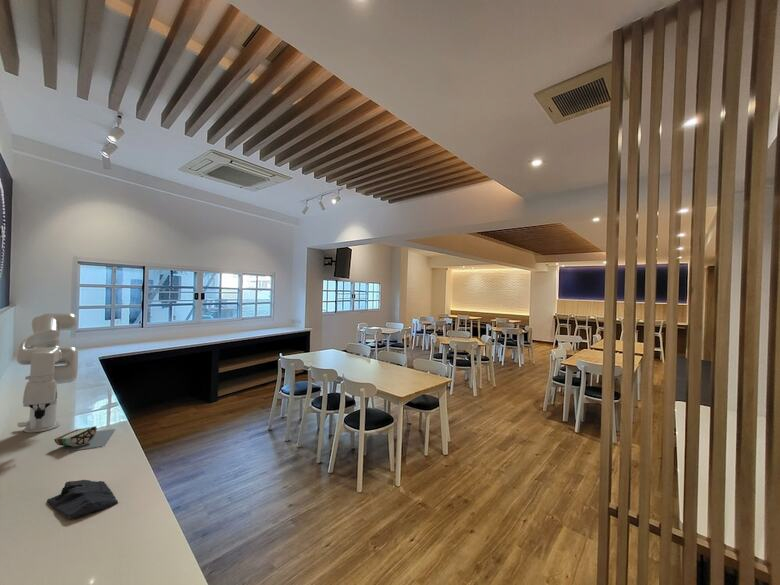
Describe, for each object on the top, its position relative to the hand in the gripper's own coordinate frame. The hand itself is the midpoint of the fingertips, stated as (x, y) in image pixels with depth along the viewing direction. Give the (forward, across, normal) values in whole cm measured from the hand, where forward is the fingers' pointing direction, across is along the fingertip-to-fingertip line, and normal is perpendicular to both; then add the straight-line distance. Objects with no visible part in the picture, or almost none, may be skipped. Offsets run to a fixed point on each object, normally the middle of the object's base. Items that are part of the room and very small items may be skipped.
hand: (39, 417), depth 149 cm
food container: (+11, +10, -3) cm, 15 cm away
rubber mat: (+13, +20, -2) cm, 24 cm away
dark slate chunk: (+10, +30, -61) cm, 69 cm away
